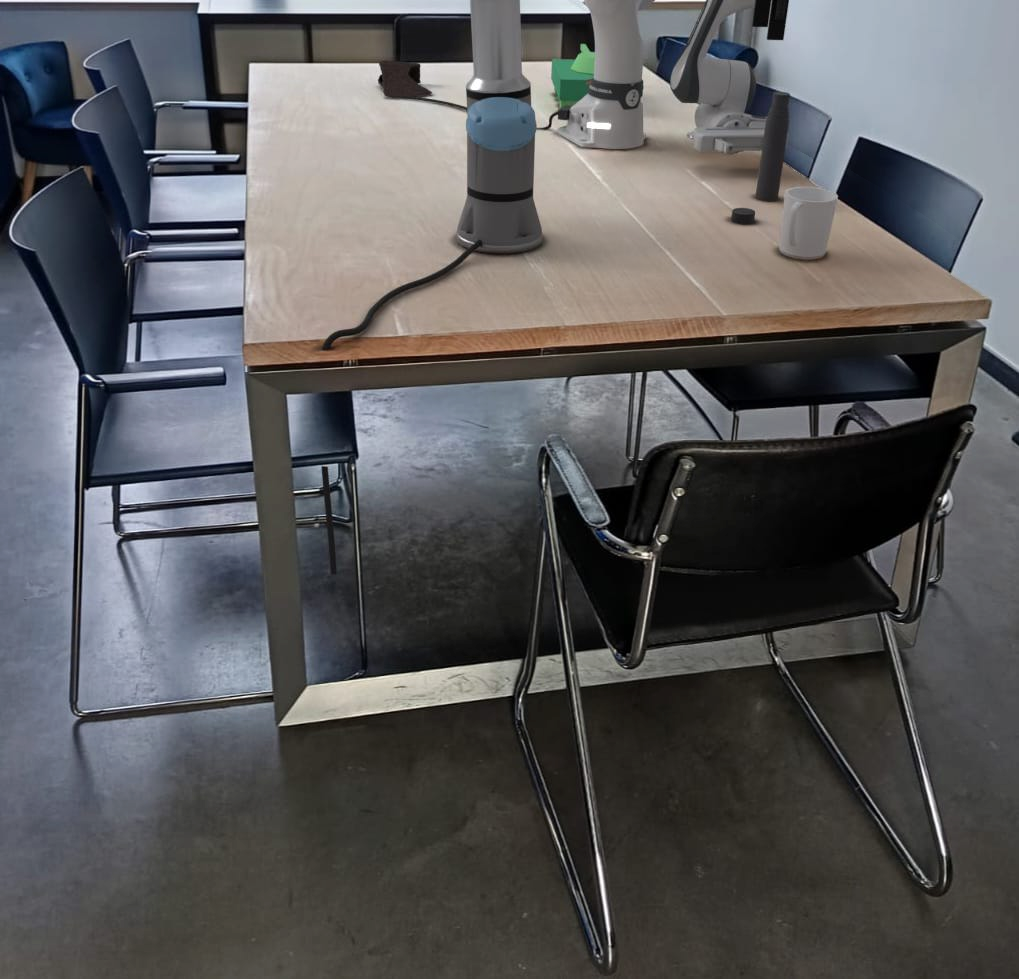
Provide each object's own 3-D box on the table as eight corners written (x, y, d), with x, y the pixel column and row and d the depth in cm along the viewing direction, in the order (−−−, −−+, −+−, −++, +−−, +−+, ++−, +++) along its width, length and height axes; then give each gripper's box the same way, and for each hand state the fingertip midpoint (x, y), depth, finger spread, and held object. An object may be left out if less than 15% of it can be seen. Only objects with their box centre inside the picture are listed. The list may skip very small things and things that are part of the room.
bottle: (752, 199, 221) (767, 94, 210) (758, 193, 224) (773, 89, 213) (774, 202, 219) (790, 96, 208) (780, 196, 222) (796, 92, 212)
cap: (734, 224, 206) (735, 214, 206) (728, 217, 210) (729, 207, 209) (756, 224, 207) (758, 214, 206) (750, 217, 210) (751, 207, 210)
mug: (790, 240, 199) (799, 183, 193) (836, 251, 194) (846, 193, 188) (761, 255, 191) (769, 197, 186) (808, 267, 186) (818, 208, 181)
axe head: (443, 87, 294) (392, 77, 287) (436, 115, 299) (385, 106, 292) (421, 62, 307) (371, 52, 300) (414, 89, 311) (365, 80, 304)
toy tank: (613, 40, 304) (631, 65, 274) (610, 86, 310) (627, 115, 281) (550, 39, 303) (561, 63, 273) (548, 85, 309) (558, 114, 280)
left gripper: (826, -100, 169) (804, 46, 180) (792, -109, 191) (774, 22, 202) (778, -101, 169) (759, 45, 180) (749, -110, 191) (733, 21, 202)
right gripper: (686, 118, 237) (705, 134, 225) (776, 117, 239) (799, 132, 228) (683, 147, 240) (701, 164, 228) (772, 146, 243) (794, 163, 231)
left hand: (767, 33), depth 191 cm, fingers open, 13 cm apart
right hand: (751, 148), depth 228 cm, fingers open, 8 cm apart
